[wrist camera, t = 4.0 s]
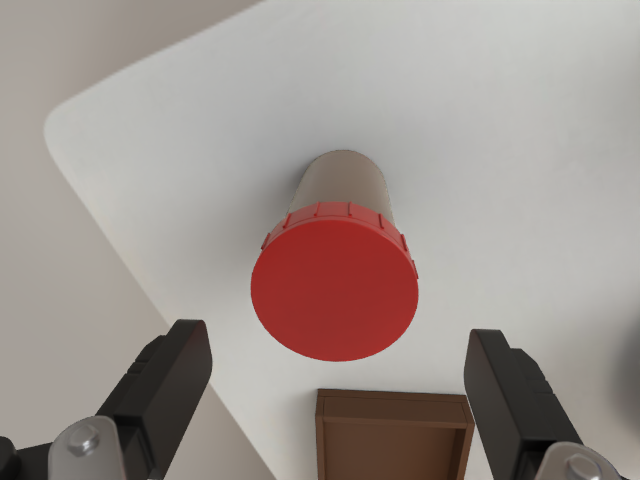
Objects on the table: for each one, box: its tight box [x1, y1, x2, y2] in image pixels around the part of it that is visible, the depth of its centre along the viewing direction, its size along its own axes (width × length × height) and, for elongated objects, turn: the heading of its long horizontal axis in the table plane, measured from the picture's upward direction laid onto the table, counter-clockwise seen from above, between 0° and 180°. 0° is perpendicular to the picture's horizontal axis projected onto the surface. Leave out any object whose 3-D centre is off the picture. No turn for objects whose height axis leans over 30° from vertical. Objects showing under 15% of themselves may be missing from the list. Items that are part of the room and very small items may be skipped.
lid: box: [251, 201, 418, 362], centre depth 15 cm, size 6×6×2 cm
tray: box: [315, 389, 475, 480], centre depth 34 cm, size 12×15×3 cm
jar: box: [285, 150, 396, 228], centre depth 20 cm, size 6×6×12 cm
